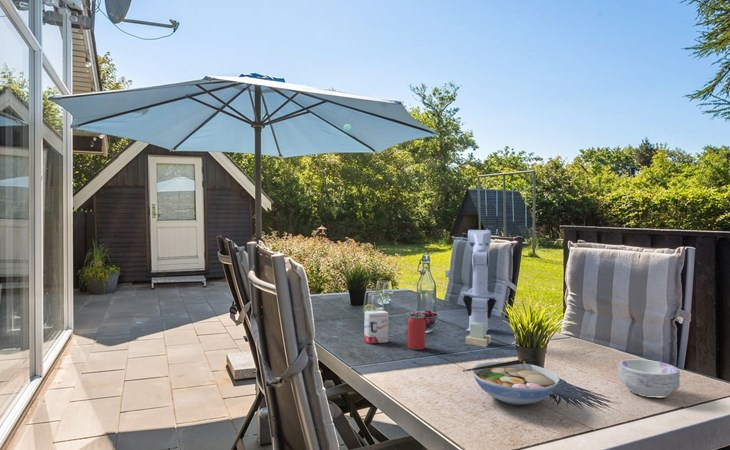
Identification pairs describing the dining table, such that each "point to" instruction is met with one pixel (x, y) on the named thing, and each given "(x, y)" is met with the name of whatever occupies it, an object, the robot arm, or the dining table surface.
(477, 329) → the cube
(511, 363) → the ramen bowl
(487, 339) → the pedestal
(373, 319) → the ink box
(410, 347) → the beer can
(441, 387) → the dining table surface
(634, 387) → the paper bowls
